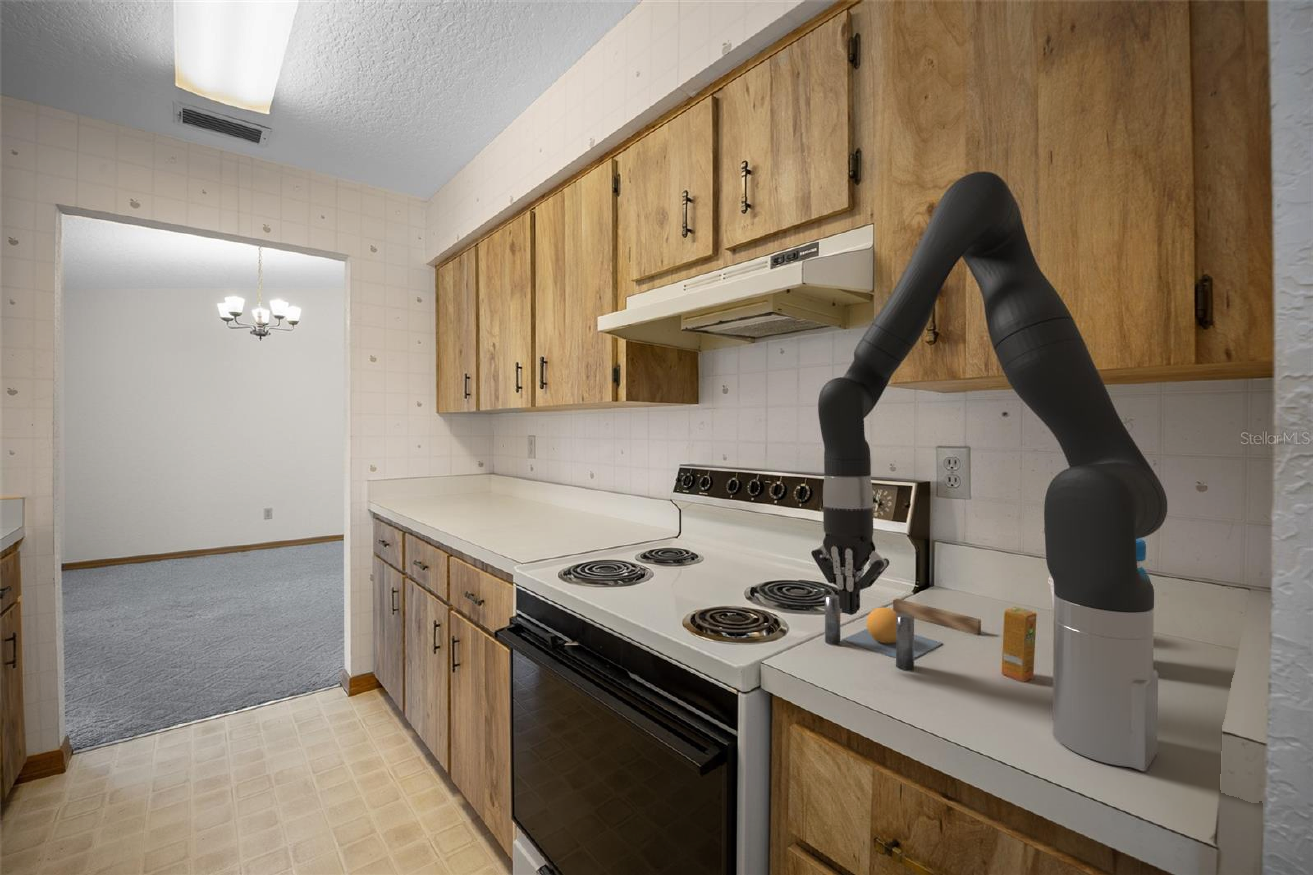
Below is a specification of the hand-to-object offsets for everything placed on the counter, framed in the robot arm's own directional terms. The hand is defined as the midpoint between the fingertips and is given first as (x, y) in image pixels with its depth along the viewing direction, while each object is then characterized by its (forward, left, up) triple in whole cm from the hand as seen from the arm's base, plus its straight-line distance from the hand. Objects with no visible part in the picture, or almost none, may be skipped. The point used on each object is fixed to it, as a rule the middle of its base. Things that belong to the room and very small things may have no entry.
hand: (849, 612), depth 89 cm
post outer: (+7, -6, -8) cm, 12 cm away
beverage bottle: (-27, -33, -8) cm, 43 cm away
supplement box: (-19, -16, -8) cm, 26 cm away
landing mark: (0, -14, -8) cm, 16 cm away
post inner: (-6, -6, -8) cm, 12 cm away
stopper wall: (0, -30, -8) cm, 31 cm away
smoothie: (-18, -43, -8) cm, 47 cm away
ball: (+1, -13, -5) cm, 14 cm away
